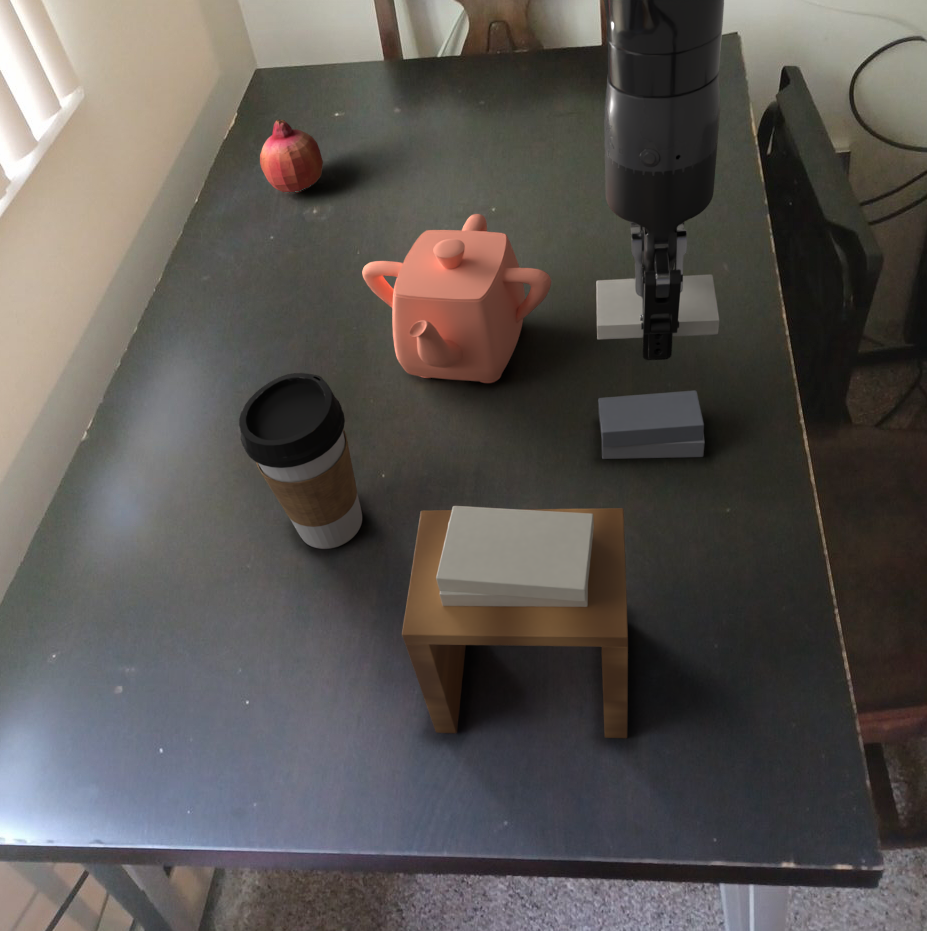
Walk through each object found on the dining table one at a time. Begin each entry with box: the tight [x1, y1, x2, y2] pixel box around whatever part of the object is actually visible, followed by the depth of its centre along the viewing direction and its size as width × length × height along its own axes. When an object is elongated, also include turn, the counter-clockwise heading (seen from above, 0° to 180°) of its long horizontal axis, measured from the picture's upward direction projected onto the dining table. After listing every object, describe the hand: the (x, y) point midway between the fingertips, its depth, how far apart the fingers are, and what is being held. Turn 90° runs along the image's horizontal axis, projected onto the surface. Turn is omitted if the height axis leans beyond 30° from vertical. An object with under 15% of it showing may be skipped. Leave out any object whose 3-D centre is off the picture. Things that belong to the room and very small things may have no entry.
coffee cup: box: [238, 372, 363, 550], centre depth 76 cm, size 8×8×15 cm
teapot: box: [361, 213, 552, 384], centre depth 90 cm, size 17×16×13 cm
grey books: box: [597, 390, 706, 460], centre depth 82 cm, size 9×5×4 cm, turn 85°
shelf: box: [401, 507, 629, 739], centre depth 64 cm, size 14×10×14 cm
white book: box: [596, 274, 720, 340], centre depth 72 cm, size 9×6×1 cm, turn 85°
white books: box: [436, 505, 594, 607], centre depth 58 cm, size 10×7×3 cm
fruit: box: [259, 119, 324, 194], centre depth 118 cm, size 8×8×10 cm
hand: (654, 330), depth 73 cm, fingers closed on white book, 5 cm apart
